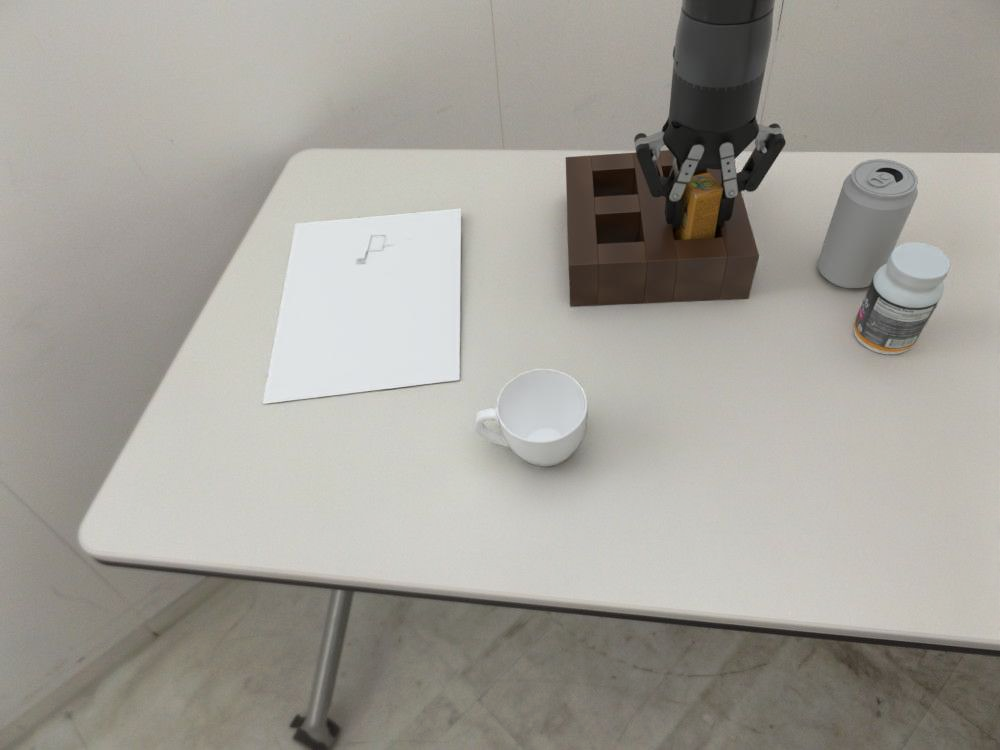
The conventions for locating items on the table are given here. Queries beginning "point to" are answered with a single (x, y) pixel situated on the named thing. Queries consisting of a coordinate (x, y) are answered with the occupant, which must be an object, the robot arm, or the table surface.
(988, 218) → the table surface
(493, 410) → the cup
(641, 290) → the peg board
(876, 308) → the pill bottle
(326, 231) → the paper sheet
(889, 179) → the beverage can
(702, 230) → the supplement box
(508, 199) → the table surface
